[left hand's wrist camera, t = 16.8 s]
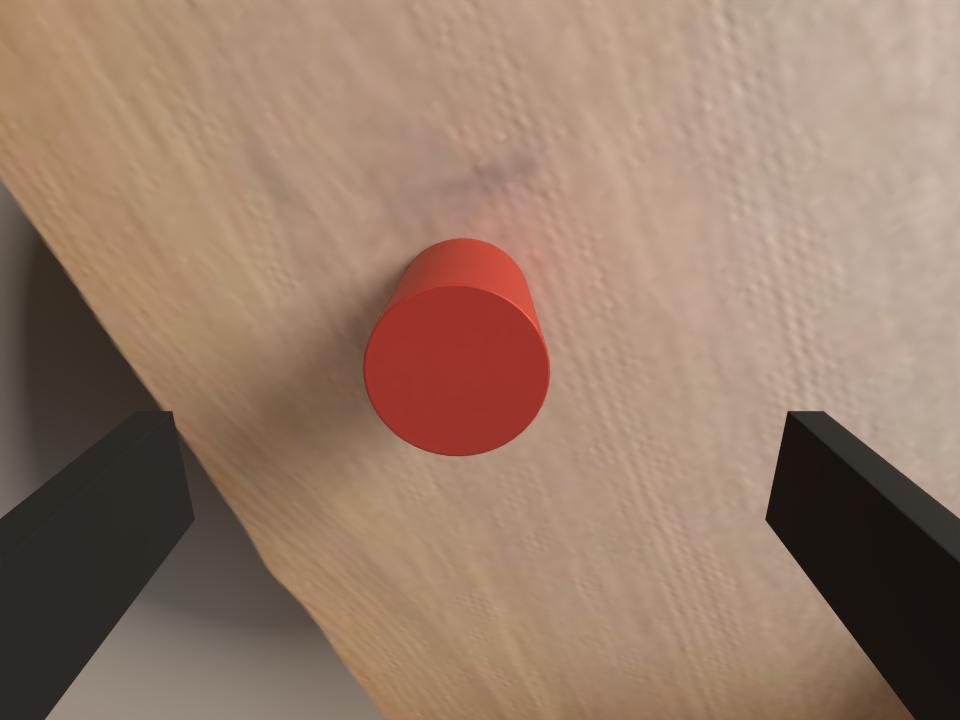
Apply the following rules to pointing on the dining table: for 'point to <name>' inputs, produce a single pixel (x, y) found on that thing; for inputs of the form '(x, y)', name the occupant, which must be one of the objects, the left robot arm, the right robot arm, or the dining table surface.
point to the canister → (458, 352)
